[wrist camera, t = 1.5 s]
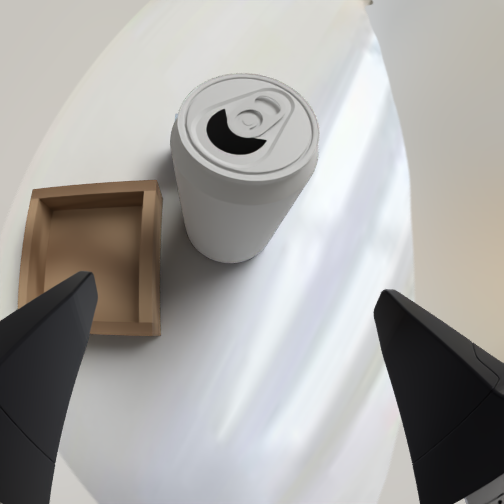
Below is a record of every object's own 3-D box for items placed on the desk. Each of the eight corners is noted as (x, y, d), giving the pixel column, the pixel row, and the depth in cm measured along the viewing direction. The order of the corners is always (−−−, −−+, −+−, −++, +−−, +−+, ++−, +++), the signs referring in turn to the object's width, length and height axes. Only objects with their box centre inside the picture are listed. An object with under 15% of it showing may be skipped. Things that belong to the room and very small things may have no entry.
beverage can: (167, 224, 22) (133, 120, 10) (227, 169, 24) (244, 49, 12) (231, 284, 21) (258, 227, 10) (289, 222, 23) (356, 126, 12)
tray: (160, 335, 20) (152, 335, 17) (39, 329, 18) (17, 327, 15) (162, 199, 22) (156, 179, 19) (49, 205, 21) (32, 189, 18)
